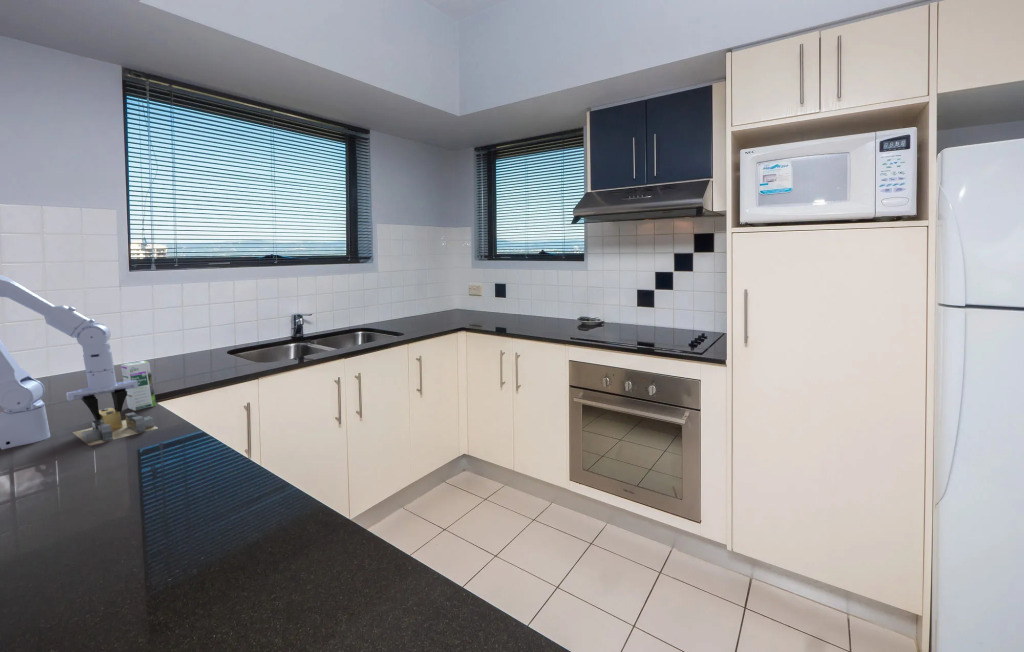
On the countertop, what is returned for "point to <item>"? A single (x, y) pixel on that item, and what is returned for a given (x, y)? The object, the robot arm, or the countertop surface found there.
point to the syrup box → (139, 385)
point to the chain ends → (105, 432)
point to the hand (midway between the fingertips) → (108, 420)
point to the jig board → (113, 433)
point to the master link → (111, 417)
